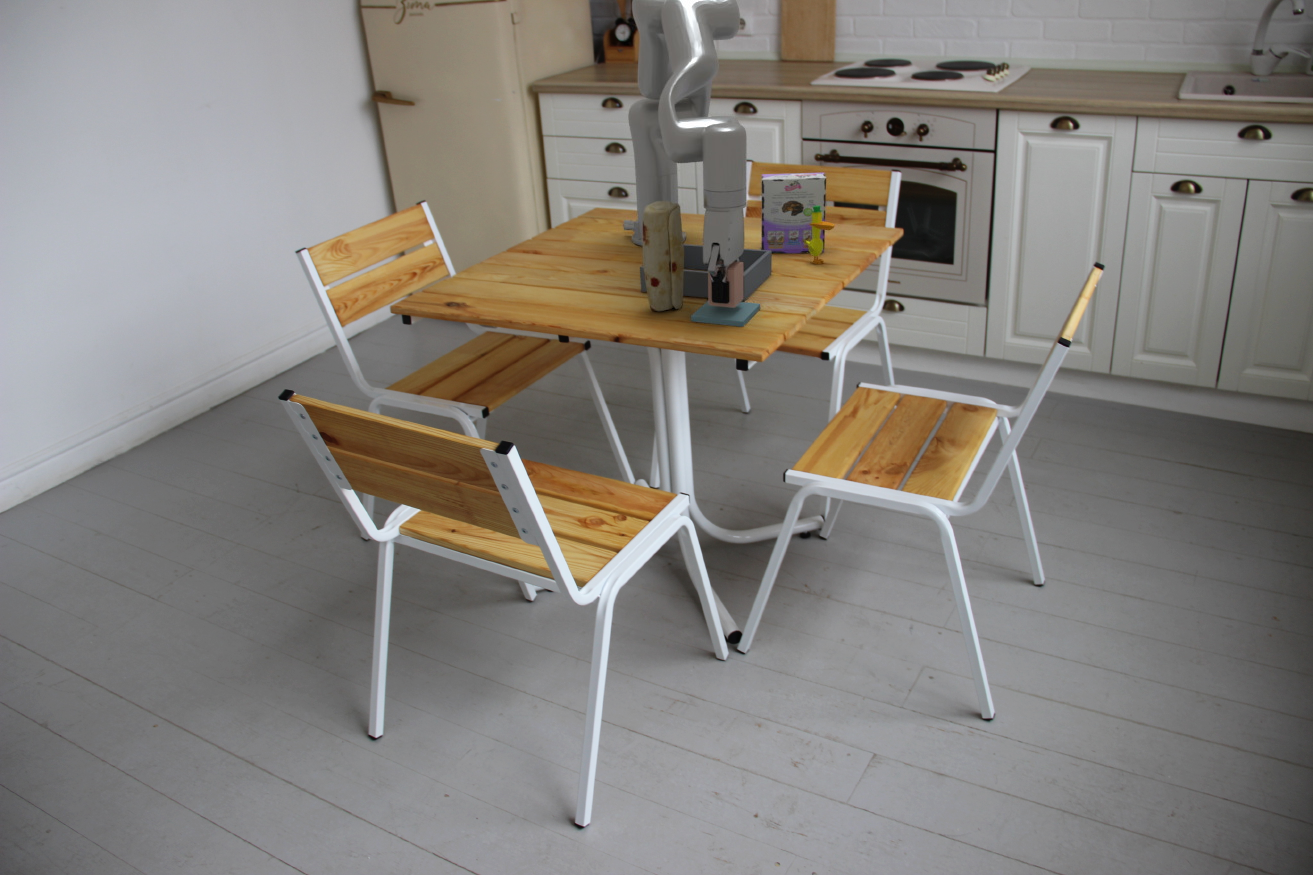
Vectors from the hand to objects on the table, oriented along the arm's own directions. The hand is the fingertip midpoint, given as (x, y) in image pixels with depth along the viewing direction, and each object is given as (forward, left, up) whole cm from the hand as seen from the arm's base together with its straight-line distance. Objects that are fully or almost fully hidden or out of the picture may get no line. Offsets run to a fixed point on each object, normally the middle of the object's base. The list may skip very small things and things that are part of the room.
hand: (725, 296), depth 178 cm
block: (0, 0, -1) cm, 1 cm away
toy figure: (+8, +36, -4) cm, 37 cm away
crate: (-10, +17, -4) cm, 20 cm away
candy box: (0, +44, -4) cm, 44 cm away
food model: (-12, +1, -4) cm, 13 cm away
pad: (0, 0, -4) cm, 4 cm away
